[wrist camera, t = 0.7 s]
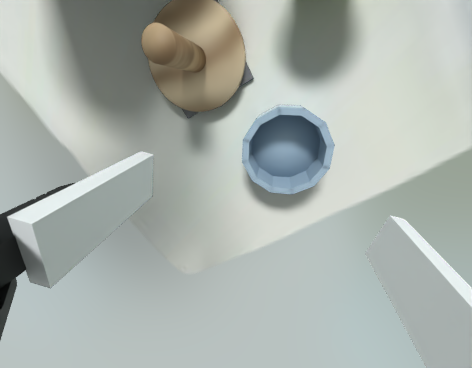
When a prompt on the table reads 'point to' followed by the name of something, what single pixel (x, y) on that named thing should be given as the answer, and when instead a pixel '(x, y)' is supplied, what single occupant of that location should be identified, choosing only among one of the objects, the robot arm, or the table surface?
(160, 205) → the table surface
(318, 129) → the bowl
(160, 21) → the lid
